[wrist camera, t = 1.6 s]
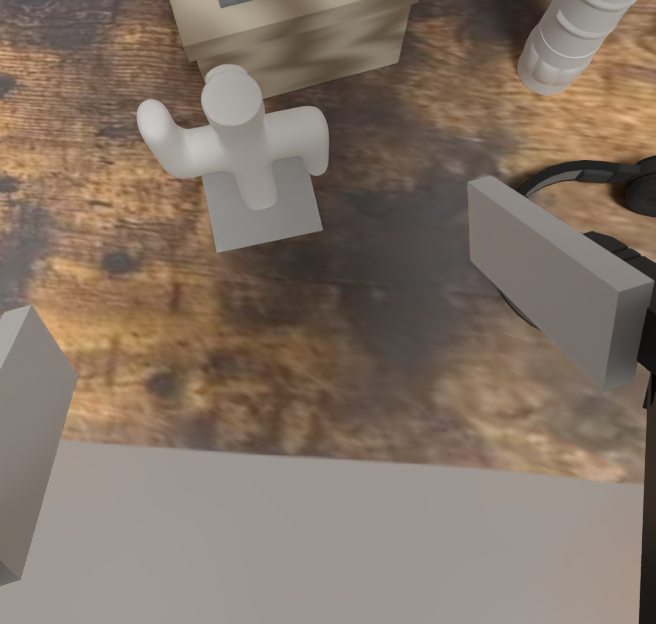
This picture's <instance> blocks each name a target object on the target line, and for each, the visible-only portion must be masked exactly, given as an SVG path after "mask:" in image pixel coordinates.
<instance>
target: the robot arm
mask: <svg viewBox="0 0 656 624" xmlns="http://www.w3.org/2000/svg"><path fill="white" fill-rule="evenodd" d="M468 209H469V236H470V260H471V261H472V262H473V263H474V264H475V265H476V266H477V267H478V268H479V269H480V270H481V271H482V272H483V273H484V274H485V275H486V276H487V277H488V278H489V279H490V280H491V281H492V282H493V283H494V284H495V285H496V286H497V287H498V288H499V289H500V290H501V291H502V292H503V293H504V294H505V295H506V296H507V297H508V298H509V299H510V300H511V301H512V302H513V303H514V304H515V305H516V306H517V307H518V308H519V309H520V310H521V311H522V312H523V313H524V314H525V315H526V316H527V317H528V318H529V319H530V320H531V321H532V322H533V323H534V324H535V325H536V326H537V327H538V328H539V329H540V330H541V331H542V332H543V333H544V334H545V335H546V336H547V337H548V338H549V339H550V340H551V341H552V342H553V343H554V344H555V345H556V346H557V347H558V348H559V349H560V350H561V351H562V352H563V353H564V354H565V355H566V356H567V357H568V358H569V359H570V360H571V361H572V362H573V363H574V364H575V365H576V366H577V367H578V368H579V369H580V370H581V371H582V372H583V373H584V374H585V375H586V376H587V377H588V378H589V379H590V380H591V381H592V382H593V383H594V384H595V385H596V386H597V387H598V388H599V389H600V390H601V391H602V392H604V391H607V390H610V389H613V388H617V387H620V386H623V385H626V384H629V383H632V382H634V377H635V372H636V368H637V363H638V362H639V363H640V364H641V365H643V366H644V367H645V368H646V369H647V370H648V371H650V372H651V374H650V378H649V383H648V387H647V391H646V395H645V400H644V404H643V408H645V409H647V426H646V452H645V478H644V504H643V530H642V531H643V532H642V555H641V581H640V608H639V624H656V263H654V262H653V261H651V260H649V259H648V258H646V257H645V256H643V257H641V254H640V253H638V252H636V251H635V250H633V249H629V248H628V246H626V245H625V244H623V243H621V242H620V241H618V240H617V239H615V238H613V237H610V236H607V235H603V234H600V233H596V232H593V231H591V232H588V233H584V234H581V233H580V232H578V231H577V230H575V229H574V228H572V227H570V226H569V225H567V224H566V223H564V222H563V221H561V220H560V219H558V218H557V217H555V216H553V215H552V214H550V213H549V212H547V211H546V210H544V209H543V208H541V207H540V206H538V205H536V204H535V203H533V202H532V201H530V200H529V199H527V198H526V197H524V196H522V195H521V194H519V193H518V192H516V191H515V190H513V189H512V188H510V187H509V186H507V185H505V184H504V183H502V182H501V181H499V180H498V179H496V178H495V177H493V176H492V175H490V176H487V177H483V178H480V179H476V180H473V181H469V182H468ZM77 377H78V375H77V374H76V372H75V371H74V369H73V368H72V366H71V365H70V363H69V362H68V360H67V358H66V357H65V355H64V354H63V352H62V351H61V349H60V348H59V346H58V344H57V343H56V341H55V340H54V338H53V337H52V335H51V334H50V332H49V331H48V329H47V327H46V326H45V324H44V323H43V321H42V320H41V318H40V317H39V315H38V314H37V312H36V310H35V309H34V307H33V306H32V305H29V306H25V307H22V308H18V309H14V310H11V311H7V312H4V314H3V316H2V318H1V319H0V586H2V585H5V584H8V583H11V582H14V581H18V580H20V579H21V576H22V573H23V569H24V566H25V562H26V559H27V555H28V551H29V547H30V544H31V541H32V537H33V533H34V530H35V526H36V523H37V519H38V516H39V512H40V509H41V505H42V501H43V498H44V494H45V491H46V487H47V483H48V480H49V477H50V473H51V469H52V466H53V462H54V459H55V455H56V452H57V448H58V444H59V441H60V437H61V434H62V430H63V427H64V423H65V420H66V416H67V412H68V409H69V405H70V402H71V398H72V395H73V391H74V387H75V384H76V380H77Z"/></svg>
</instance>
